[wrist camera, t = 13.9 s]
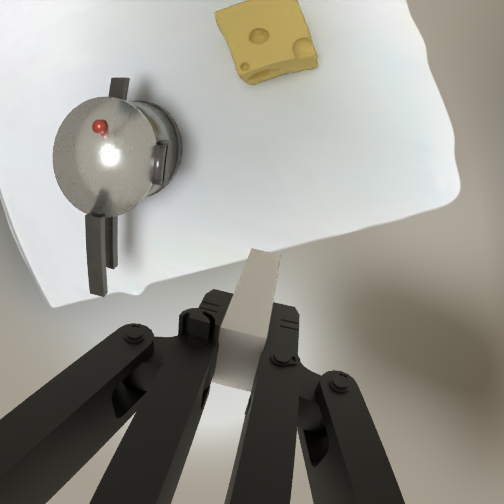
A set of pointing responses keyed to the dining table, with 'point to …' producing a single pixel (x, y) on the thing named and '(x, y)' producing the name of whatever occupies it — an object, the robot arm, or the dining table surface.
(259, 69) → the cheese
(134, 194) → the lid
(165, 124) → the pot
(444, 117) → the dining table surface
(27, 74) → the dining table surface
